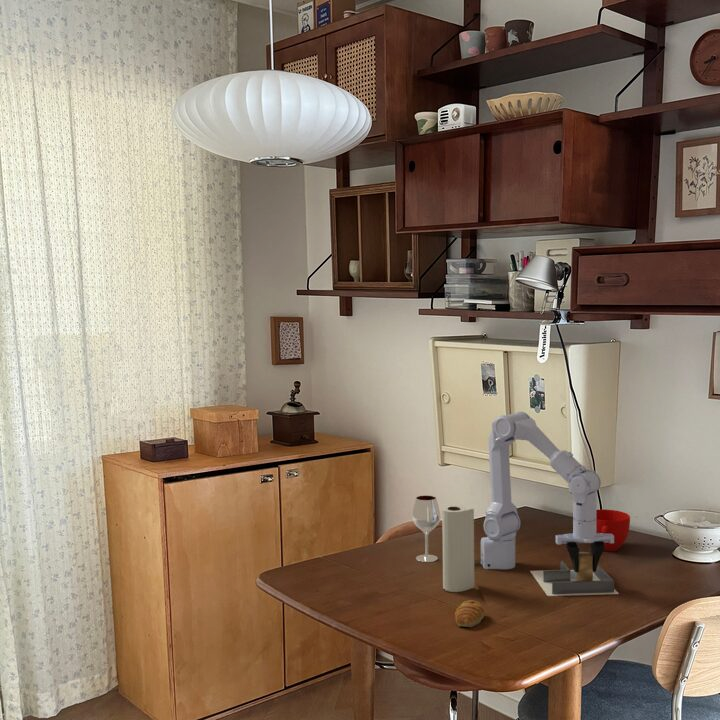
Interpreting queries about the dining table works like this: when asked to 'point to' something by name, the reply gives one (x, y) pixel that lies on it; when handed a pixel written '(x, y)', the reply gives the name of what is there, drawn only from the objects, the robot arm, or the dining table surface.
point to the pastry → (469, 613)
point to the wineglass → (426, 521)
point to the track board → (573, 577)
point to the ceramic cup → (613, 526)
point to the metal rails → (577, 582)
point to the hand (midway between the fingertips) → (584, 570)
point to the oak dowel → (585, 566)
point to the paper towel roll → (458, 548)
